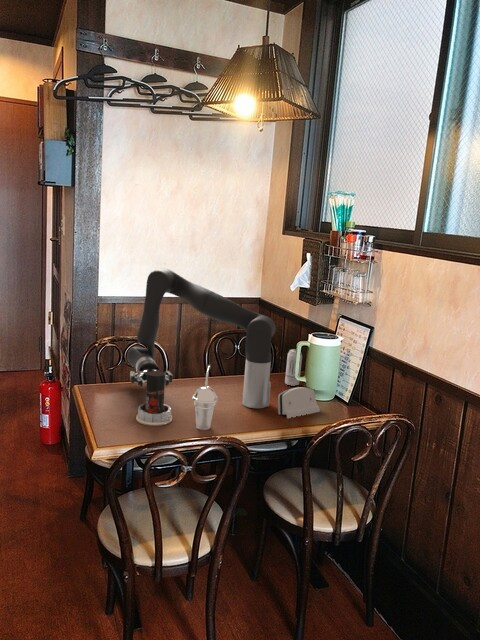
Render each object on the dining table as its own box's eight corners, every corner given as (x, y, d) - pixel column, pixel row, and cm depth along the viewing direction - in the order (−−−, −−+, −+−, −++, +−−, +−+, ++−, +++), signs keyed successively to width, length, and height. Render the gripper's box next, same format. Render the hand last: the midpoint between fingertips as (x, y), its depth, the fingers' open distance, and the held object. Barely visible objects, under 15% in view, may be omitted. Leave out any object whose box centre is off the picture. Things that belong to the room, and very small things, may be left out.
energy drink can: (284, 386, 227) (287, 351, 224) (285, 382, 233) (288, 348, 230) (298, 388, 226) (302, 353, 223) (299, 383, 232) (302, 350, 229)
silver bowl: (168, 411, 188) (169, 401, 188) (175, 425, 177) (176, 414, 177) (133, 412, 185) (134, 402, 184) (138, 426, 174) (138, 415, 173)
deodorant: (166, 416, 182) (168, 373, 179) (155, 421, 177) (156, 377, 174) (153, 411, 185) (155, 369, 182) (141, 416, 180) (143, 373, 177)
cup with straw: (184, 427, 176) (188, 368, 172) (201, 419, 184) (205, 362, 180) (206, 434, 172) (210, 374, 168) (221, 426, 179) (226, 368, 175)
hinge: (287, 418, 191) (283, 390, 192) (278, 418, 195) (274, 390, 195) (320, 411, 201) (317, 384, 202) (311, 411, 205) (308, 385, 205)
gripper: (127, 359, 194) (133, 373, 179) (167, 359, 198) (175, 372, 183) (126, 379, 195) (132, 394, 180) (166, 378, 200) (174, 393, 185)
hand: (154, 383), depth 182 cm, fingers open, 8 cm apart
